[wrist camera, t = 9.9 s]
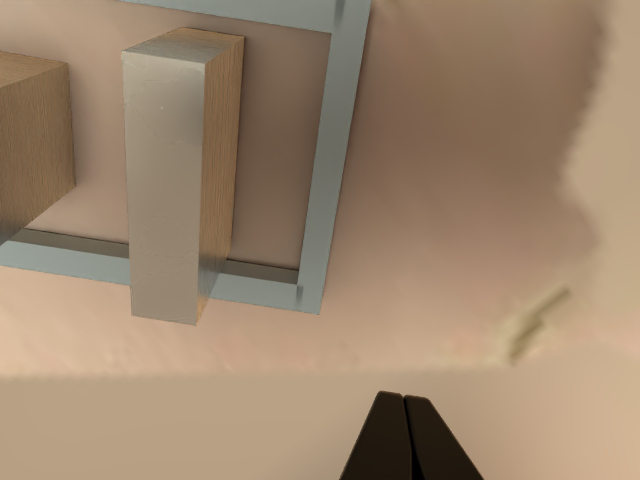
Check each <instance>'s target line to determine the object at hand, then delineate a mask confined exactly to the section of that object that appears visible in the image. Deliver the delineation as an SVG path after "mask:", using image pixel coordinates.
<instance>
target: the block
mask: <svg viewBox="0 0 640 480" xmlns="http://www.w3.org/2000/svg"><path fill="white" fill-rule="evenodd" d="M75 186H76V182H75V166H74V150H73V134H72V119H71V103H70V87H69V71H68V63H64V62H58V61H53V60H47V59H41V58H36V57H30V56H25V55H19V54H13V53H8V52H2V51H0V246H1V245H2V244H4V243H5V242H6V241H7V240H9V239H10V238H11V237H12V236H14V235H15V234H16V233H17V232H19V231H20V230H21V229H22V228H24V227H25V226H26V225H28V224H29V223H30V222H31V221H33V220H34V219H35V218H36V217H38V216H39V215H40V214H41V213H43V212H44V211H45V210H46V209H48V208H49V207H50V206H51V205H53V204H54V203H55V202H56V201H58V200H59V199H60V198H61V197H63V196H64V195H65V194H66V193H68V192H69V191H70V190H71V189H73V188H74V187H75Z"/></svg>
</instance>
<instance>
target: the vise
mask: <svg viewBox="0 0 640 480" xmlns="http://www.w3.org/2000/svg"><path fill="white" fill-rule="evenodd" d="M119 1H125V2H132V3H138V4H145V5H151V6H158V7H164V8H171V9H177V10H184V11H190V12H197V13H203V14H210V15H216V16H223V17H229V18H236V19H242V20H248V21H255V22H261V23H268V24H274V25H281V26H287V27H294V28H300V29H307V30H313V31H320V32H326V33H332V36H331V43H330V50H329V58H328V65H327V72H326V79H325V87H324V94H323V101H322V108H321V116H320V123H319V130H318V138H317V145H316V152H315V159H314V167H313V174H312V181H311V188H310V196H309V203H308V210H307V217H306V225H305V232H304V239H303V246H302V254H301V261H300V268H299V271H295V270H289V269H282V268H276V267H269V266H263V265H256V264H250V263H243V262H237V261H230V260H226V261H225V263H224V265H223V268H222V270H221V272H220V274H219V276H218V279H217V281H216V283H215V285H214V288H213V290H212V292H211V294H210V296H209V298H214V299H221V300H227V301H234V302H240V303H247V304H253V305H260V306H266V307H273V308H279V309H286V310H292V311H299V312H305V313H311V314H318V315H319V313H320V307H321V301H322V295H323V289H324V283H325V277H326V271H327V265H328V259H329V253H330V246H331V240H332V234H333V228H334V222H335V216H336V210H337V204H338V198H339V192H340V186H341V180H342V174H343V168H344V162H345V156H346V150H347V144H348V138H349V132H350V126H351V120H352V114H353V108H354V102H355V96H356V90H357V84H358V78H359V72H360V66H361V60H362V54H363V48H364V42H365V36H366V30H367V24H368V18H369V12H370V6H371V0H119ZM0 266H6V267H13V268H19V269H26V270H32V271H39V272H45V273H52V274H58V275H65V276H71V277H78V278H84V279H91V280H97V281H104V282H110V283H117V284H123V285H130V260H129V245H127V244H120V243H114V242H107V241H101V240H94V239H88V238H81V237H75V236H68V235H62V234H55V233H49V232H42V231H36V230H29V229H23V228H22V229H21V230H20V231H19V232H17V233H16V234H15V235H14V236H12V237H11V238H10V239H9V240H7V241H6V242H5V243H4V244H2V245H1V246H0Z"/></svg>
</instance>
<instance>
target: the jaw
mask: <svg viewBox="0 0 640 480" xmlns="http://www.w3.org/2000/svg"><path fill="white" fill-rule="evenodd" d="M243 50H244V37H242V36H236V35H229V34H223V33H216V32H210V31H203V30H197V29H190V28H184V27H181V28H178V29H176V30H173V31H171V32H168V33H166V34H163V35H161V36H158V37H156V38H153V39H151V40H148V41H146V42H143V43H141V44H138V45H136V46H133V47H131V48H128V49H126V50H123V51H122V75H123V102H124V128H125V154H126V181H127V207H128V233H129V260H130V286H131V312H132V316H137V317H144V318H150V319H157V320H163V321H170V322H176V323H183V324H189V325H197V323H198V321H199V319H200V316H201V314H202V312H203V310H204V307H205V305H206V303H207V301H208V299H209V296H210V294H211V292H212V290H213V288H214V285H215V283H216V281H217V279H218V276H219V274H220V272H221V270H222V268H223V265H224V263H225V261H226V259H227V256H228V254H229V252H230V250H231V235H232V219H233V204H234V188H235V173H236V158H237V142H238V127H239V112H240V96H241V81H242V66H243Z"/></svg>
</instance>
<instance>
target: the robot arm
mask: <svg viewBox="0 0 640 480" xmlns="http://www.w3.org/2000/svg"><path fill="white" fill-rule="evenodd" d="M339 480H484V479H483V477H482V476H481V474H480V473H479V471H478V470H477V468H476V467H475V465H474V464H473V462H472V461H471V459H470V458H469V457H468V455H467V454H466V452H465V451H464V449H463V448H462V447H461V445H460V444H459V442H458V441H457V439H456V438H455V436H454V435H453V433H452V432H451V430H450V429H449V427H448V426H447V425H446V423H445V422H444V420H443V419H442V418H441V416H440V414H439V413H438V412H437V410H436V409H435V407H434V406H433V404H432V403H431V401H430V400H429V399H427V398H425V397H419V396H413V395H405V396H404V397H403V396H402V395H401V394H399V393H393V392H387V391H379V392H378V394H377V396H376V398H375V400H374V402H373V404H372V407H371V409H370V411H369V413H368V416H367V418H366V420H365V423H364V425H363V427H362V429H361V432H360V434H359V436H358V438H357V440H356V443H355V445H354V447H353V449H352V452H351V454H350V456H349V459H348V461H347V463H346V465H345V467H344V470H343V472H342V474H341V476H340V479H339Z"/></svg>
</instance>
